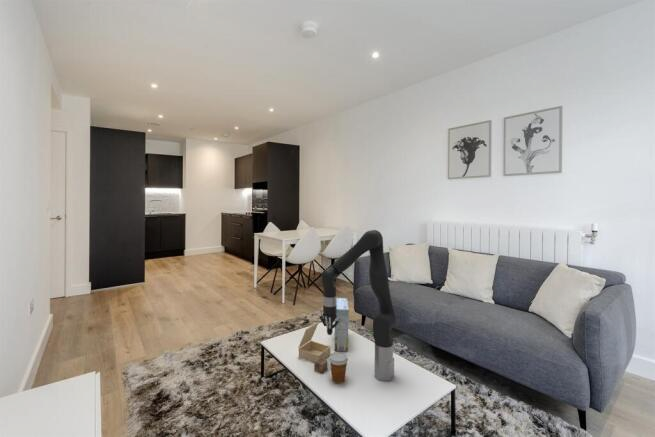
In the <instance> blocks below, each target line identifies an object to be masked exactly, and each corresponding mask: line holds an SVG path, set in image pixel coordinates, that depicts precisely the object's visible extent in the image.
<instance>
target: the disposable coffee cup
mask: <svg viewBox="0 0 655 437" xmlns="http://www.w3.org/2000/svg"><path fill="white" fill-rule="evenodd" d="M328 360H329V364H330V365H329V366H330V372H331V380H332V382H333V383H336V384H342V383H344V382H345V380H346V372H347V366H348V361H349V358H348V355H347V354H346V353H344V352H342V351H335V352H332V353H331V355H330V356H329V357H328Z"/></svg>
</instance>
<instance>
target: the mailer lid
mask: <svg viewBox="0 0 655 437" xmlns="http://www.w3.org/2000/svg"><path fill="white" fill-rule="evenodd" d="M319 323H320V321H319V320H318V321H317V322H315V323H314V324H312V325H310V326H309V327H307V328H305V331H304V334H303V335H302V337H301V340H300V343H299V344H298V349H299V348H301V347H302V346H304V345H305V344H307V343H308V342H310V341H312V339H313V337H314V334H315V333H316V330H317V328H318V325H319Z"/></svg>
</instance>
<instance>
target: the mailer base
mask: <svg viewBox="0 0 655 437" xmlns="http://www.w3.org/2000/svg"><path fill="white" fill-rule="evenodd" d="M331 348H332V346H330V345H325V344H323V343H320V342H317V341H313V340H310V341H309V342H307V343H306V344H304V345H303V346H301V347H300V348H298V358H300V359H302V360H305V361H308V362H311V363H313V364H314V362H315V361H316V360H318V359H319V358H321V359H324V360H326V359H327V358H329V357H330V355H331V354H332V353H331Z"/></svg>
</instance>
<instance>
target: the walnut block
mask: <svg viewBox="0 0 655 437" xmlns="http://www.w3.org/2000/svg"><path fill="white" fill-rule="evenodd" d="M313 364H314V366H313V367H314V368H313V369H314V370H313V371H314V372H316V373H319V374H321V375H323V374H324V373H325V372H326V371H328V360H326V359H325V360H324V359H321V358H319V359H318V360H316V361H315V362H314V363H313Z"/></svg>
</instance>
